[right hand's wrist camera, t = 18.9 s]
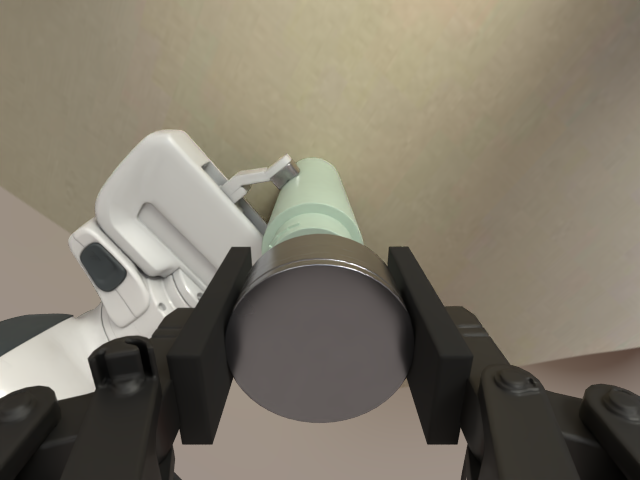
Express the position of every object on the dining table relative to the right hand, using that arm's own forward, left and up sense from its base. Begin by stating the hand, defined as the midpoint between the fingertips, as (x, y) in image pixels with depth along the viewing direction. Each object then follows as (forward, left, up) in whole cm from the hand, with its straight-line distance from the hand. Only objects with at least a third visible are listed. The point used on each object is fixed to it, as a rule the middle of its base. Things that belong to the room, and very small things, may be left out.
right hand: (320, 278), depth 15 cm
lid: (0, 0, +4) cm, 4 cm away
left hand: (0, 0, -12) cm, 12 cm away
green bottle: (0, 0, -18) cm, 18 cm away
